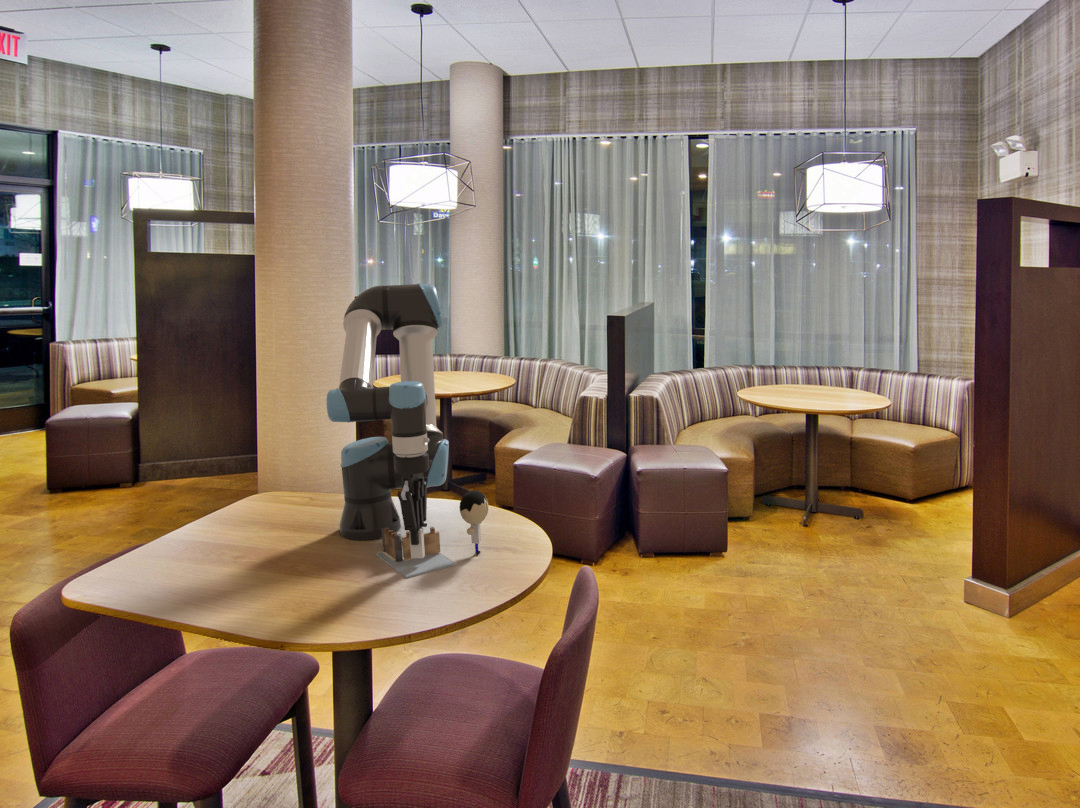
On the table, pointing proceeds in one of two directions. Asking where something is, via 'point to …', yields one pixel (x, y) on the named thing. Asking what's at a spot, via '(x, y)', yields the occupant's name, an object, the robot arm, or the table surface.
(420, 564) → the card
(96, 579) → the table surface
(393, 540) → the fence fixed
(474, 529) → the toy
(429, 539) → the notched wooden bar
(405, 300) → the robot arm
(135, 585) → the table surface
